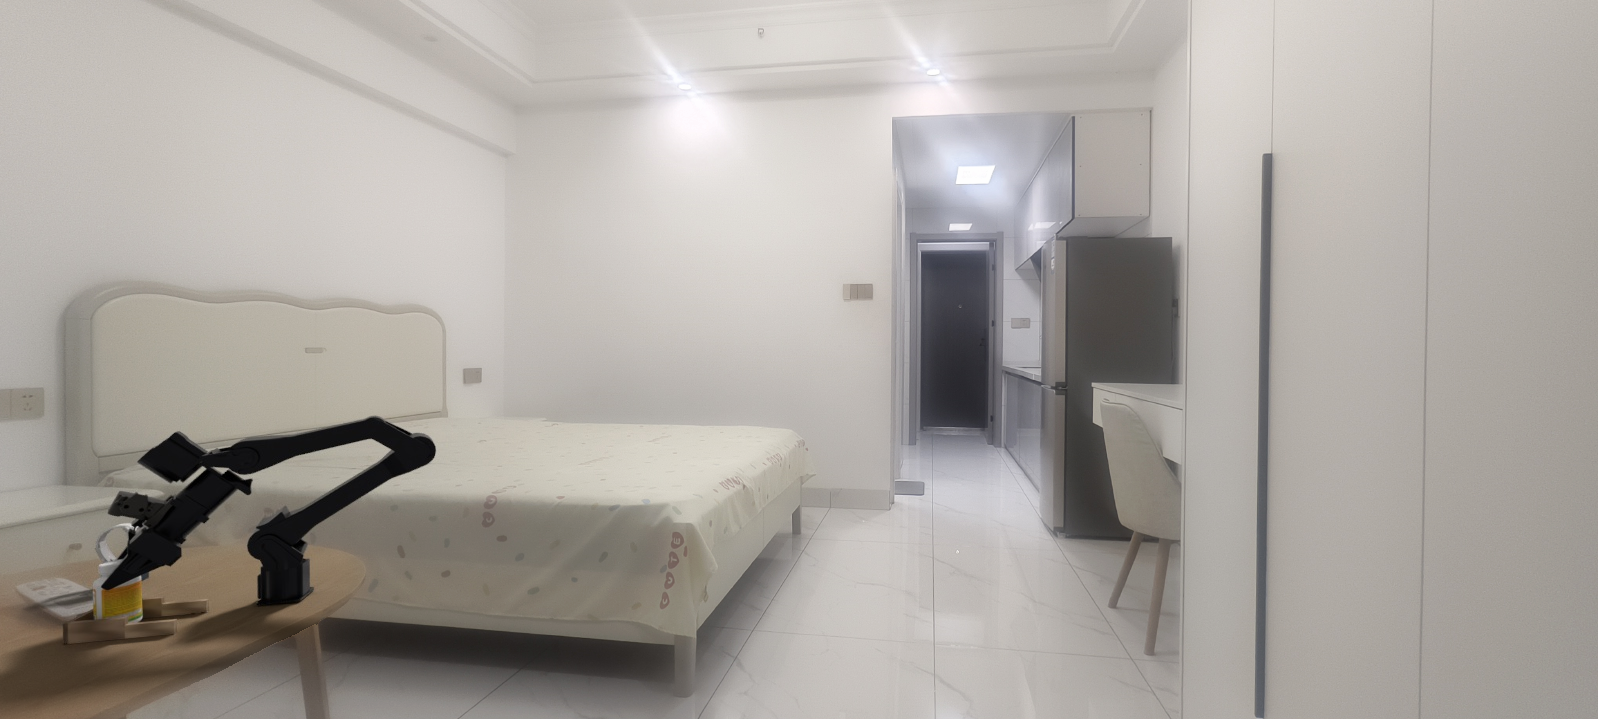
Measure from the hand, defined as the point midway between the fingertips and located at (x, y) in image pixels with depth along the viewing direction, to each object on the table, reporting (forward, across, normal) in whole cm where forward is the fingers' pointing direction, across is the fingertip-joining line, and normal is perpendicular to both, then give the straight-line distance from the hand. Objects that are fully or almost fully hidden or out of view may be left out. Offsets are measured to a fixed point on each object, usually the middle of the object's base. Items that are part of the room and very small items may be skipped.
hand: (104, 583), depth 105 cm
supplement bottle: (+4, 0, +6) cm, 7 cm away
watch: (+4, -28, +7) cm, 29 cm away
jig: (+2, +2, +8) cm, 9 cm away
